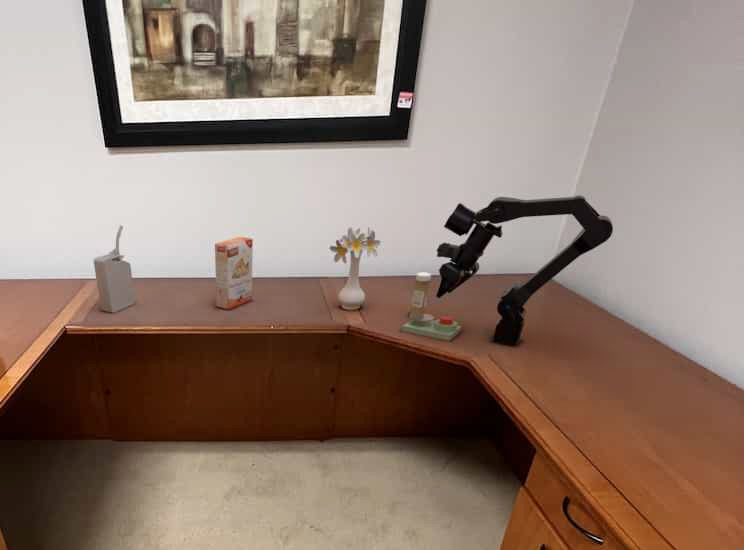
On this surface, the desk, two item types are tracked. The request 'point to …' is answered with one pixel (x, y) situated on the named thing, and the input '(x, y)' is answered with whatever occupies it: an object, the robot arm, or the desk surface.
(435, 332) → the warmer
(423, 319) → the plate
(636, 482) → the desk surface
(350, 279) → the flower vase
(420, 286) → the sprinkles bottle
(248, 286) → the cracker box
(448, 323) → the button
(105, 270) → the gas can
